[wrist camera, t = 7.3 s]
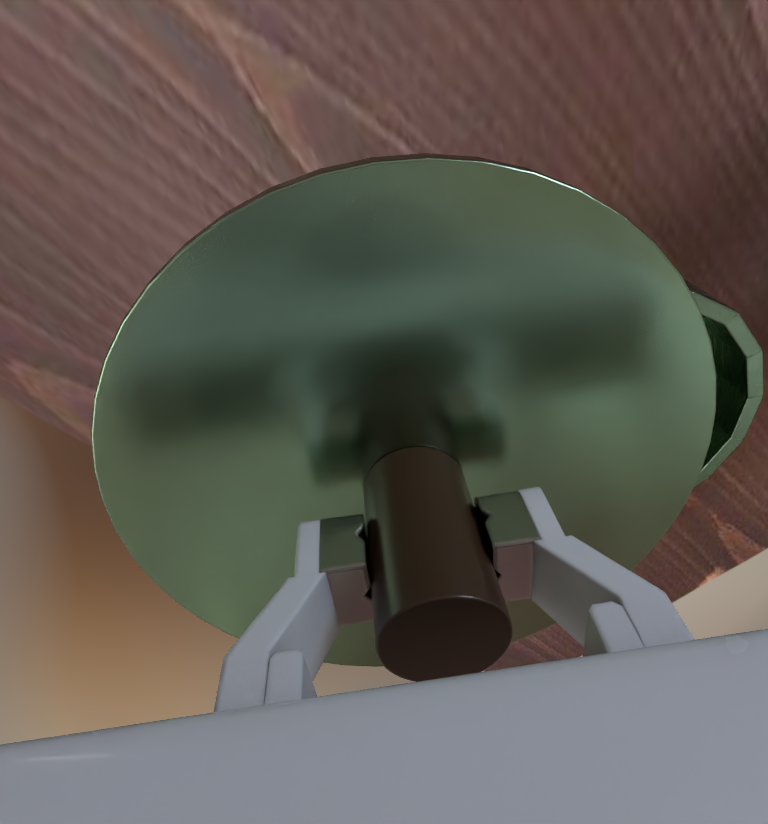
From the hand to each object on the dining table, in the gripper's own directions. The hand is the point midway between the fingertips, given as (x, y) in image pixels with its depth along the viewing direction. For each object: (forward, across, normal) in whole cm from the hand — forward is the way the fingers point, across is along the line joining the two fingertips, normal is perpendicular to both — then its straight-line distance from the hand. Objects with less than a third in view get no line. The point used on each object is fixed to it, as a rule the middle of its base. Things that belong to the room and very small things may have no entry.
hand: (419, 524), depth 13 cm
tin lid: (+2, 0, 0) cm, 2 cm away
